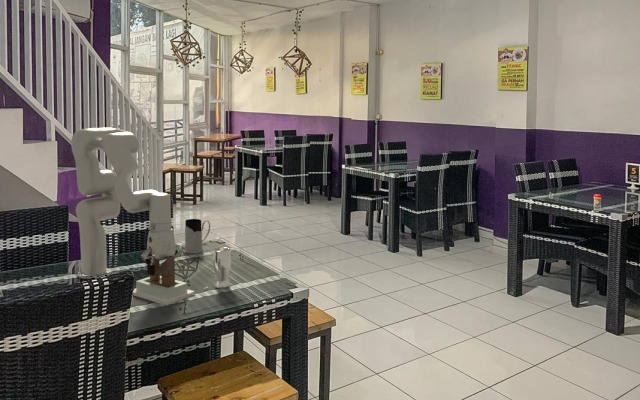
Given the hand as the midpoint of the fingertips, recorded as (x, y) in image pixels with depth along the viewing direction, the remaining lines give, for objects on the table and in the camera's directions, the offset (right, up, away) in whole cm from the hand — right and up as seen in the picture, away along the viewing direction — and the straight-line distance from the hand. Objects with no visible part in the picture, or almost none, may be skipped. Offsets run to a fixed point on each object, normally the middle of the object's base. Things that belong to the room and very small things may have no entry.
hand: (161, 271), depth 203 cm
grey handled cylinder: (0, +2, +62) cm, 63 cm away
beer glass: (+20, -8, +12) cm, 25 cm away
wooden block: (0, -8, +1) cm, 8 cm away
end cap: (0, -9, +2) cm, 9 cm away
